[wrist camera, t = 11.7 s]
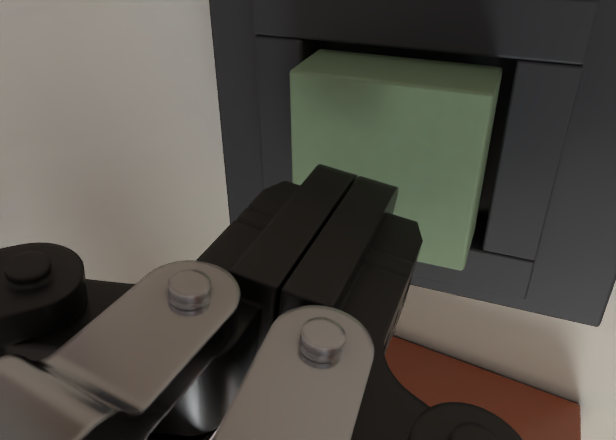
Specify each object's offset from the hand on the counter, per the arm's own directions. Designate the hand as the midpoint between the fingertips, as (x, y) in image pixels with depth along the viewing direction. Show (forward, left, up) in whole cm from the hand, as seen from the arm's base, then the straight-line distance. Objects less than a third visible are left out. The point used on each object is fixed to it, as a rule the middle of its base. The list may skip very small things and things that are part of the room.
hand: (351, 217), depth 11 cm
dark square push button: (0, 0, -8) cm, 8 cm away
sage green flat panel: (0, 0, -3) cm, 3 cm away
